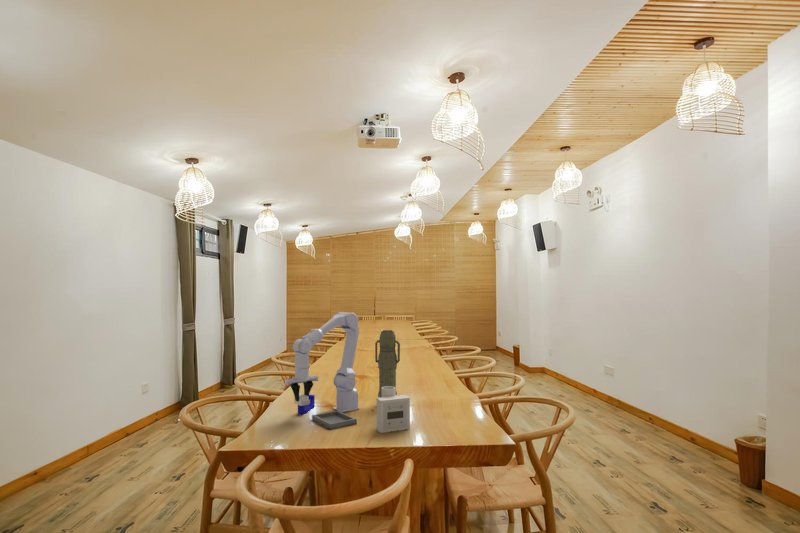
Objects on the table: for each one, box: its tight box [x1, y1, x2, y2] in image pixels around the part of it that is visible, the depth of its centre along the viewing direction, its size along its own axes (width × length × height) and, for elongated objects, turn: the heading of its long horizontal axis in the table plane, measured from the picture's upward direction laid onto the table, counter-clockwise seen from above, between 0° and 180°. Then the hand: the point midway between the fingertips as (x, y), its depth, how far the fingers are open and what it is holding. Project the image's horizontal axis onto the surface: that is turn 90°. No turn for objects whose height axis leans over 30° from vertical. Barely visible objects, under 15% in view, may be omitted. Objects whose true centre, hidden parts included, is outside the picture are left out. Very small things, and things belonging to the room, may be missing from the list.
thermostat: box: [376, 386, 411, 434], centre depth 178 cm, size 12×14×15 cm
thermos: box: [374, 329, 401, 398], centre depth 210 cm, size 9×12×35 cm
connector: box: [293, 392, 310, 406], centre depth 187 cm, size 10×4×4 cm, turn 37°
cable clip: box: [297, 394, 315, 415], centre depth 200 cm, size 12×4×6 cm, turn 169°
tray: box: [311, 410, 358, 430], centre depth 183 cm, size 12×16×2 cm
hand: (301, 400), depth 187 cm, fingers closed on connector, 3 cm apart
